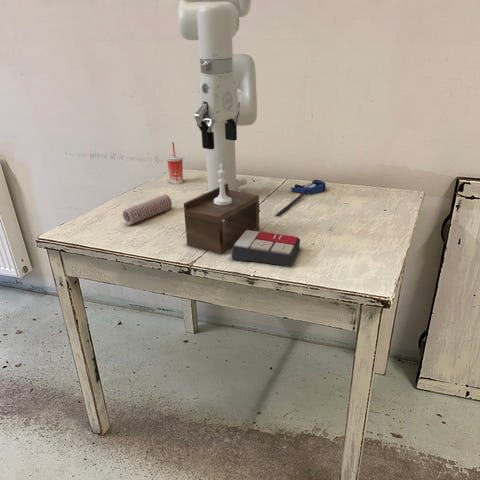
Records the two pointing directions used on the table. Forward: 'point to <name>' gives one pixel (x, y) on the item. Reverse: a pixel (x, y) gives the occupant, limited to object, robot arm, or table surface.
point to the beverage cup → (175, 167)
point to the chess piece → (222, 189)
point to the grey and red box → (266, 248)
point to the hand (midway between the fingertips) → (220, 144)
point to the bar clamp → (306, 191)
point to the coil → (147, 209)
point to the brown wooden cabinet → (220, 219)
